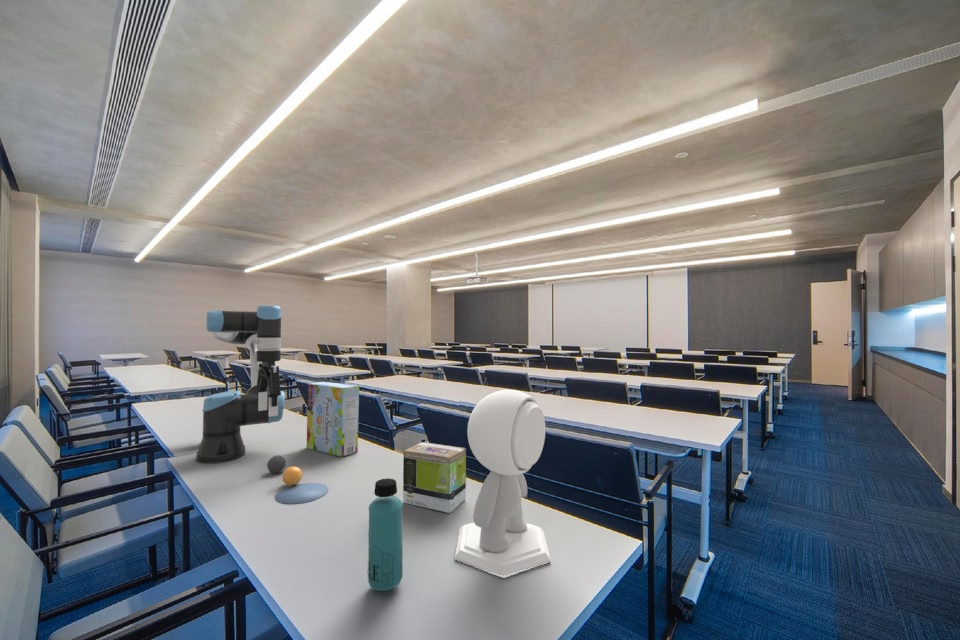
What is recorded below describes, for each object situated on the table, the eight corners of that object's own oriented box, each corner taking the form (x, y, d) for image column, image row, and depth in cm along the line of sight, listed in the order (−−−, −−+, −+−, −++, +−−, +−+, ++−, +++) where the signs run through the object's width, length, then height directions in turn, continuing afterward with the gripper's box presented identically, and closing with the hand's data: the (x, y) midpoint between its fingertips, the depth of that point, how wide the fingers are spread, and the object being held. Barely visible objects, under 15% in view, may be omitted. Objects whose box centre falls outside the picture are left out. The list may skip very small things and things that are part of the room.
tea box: (466, 499, 112) (467, 447, 112) (449, 515, 103) (449, 457, 103) (421, 489, 119) (422, 440, 119) (401, 503, 109) (402, 449, 110)
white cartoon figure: (530, 590, 74) (531, 402, 75) (433, 551, 86) (435, 390, 87) (566, 541, 91) (568, 388, 91) (481, 515, 103) (483, 380, 104)
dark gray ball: (274, 469, 134) (274, 452, 134) (289, 470, 133) (289, 453, 133) (263, 475, 129) (263, 458, 129) (278, 476, 128) (278, 459, 128)
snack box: (359, 452, 153) (360, 385, 153) (341, 458, 145) (342, 388, 146) (323, 442, 164) (324, 380, 164) (304, 448, 157) (305, 382, 157)
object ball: (289, 480, 124) (290, 463, 124) (305, 482, 123) (306, 464, 123) (278, 488, 119) (278, 469, 119) (294, 489, 118) (295, 470, 118)
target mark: (295, 482, 123) (295, 481, 123) (337, 485, 121) (337, 484, 121) (263, 501, 109) (263, 501, 109) (310, 506, 107) (310, 505, 107)
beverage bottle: (409, 581, 76) (410, 476, 76) (390, 604, 70) (391, 490, 70) (379, 574, 78) (381, 472, 79) (359, 595, 72) (360, 485, 72)
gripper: (247, 348, 144) (246, 409, 144) (267, 352, 128) (266, 420, 127) (269, 347, 149) (268, 406, 149) (292, 351, 133) (291, 417, 133)
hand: (267, 413), depth 138 cm, fingers open, 11 cm apart
